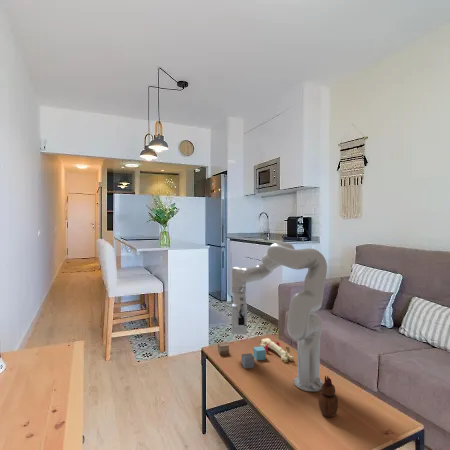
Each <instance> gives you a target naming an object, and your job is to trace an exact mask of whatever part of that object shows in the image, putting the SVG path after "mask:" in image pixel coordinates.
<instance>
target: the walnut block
mask: <svg viewBox="0 0 450 450" xmlns="http://www.w3.org/2000/svg"><path fill="white" fill-rule="evenodd" d="M218 352H219V353H218ZM217 353H218V354H219V355H220V356H226V355H225V354H227V355H229V354H230V345H229V343H228V342H227V341H222V342H217Z"/></svg>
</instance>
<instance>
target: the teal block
mask: <svg viewBox="0 0 450 450" xmlns="http://www.w3.org/2000/svg"><path fill="white" fill-rule="evenodd" d="M252 349H253V354H252V355H253V357H254V360H256V361H262V360H264V361H265V360H267V359H266V358H267V357H266V356H267V355H266V354H267V352H266V350H265V349H264V348H263V347H262V346H260V345H259V346H254V347H253V348H252Z"/></svg>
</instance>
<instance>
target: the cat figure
mask: <svg viewBox="0 0 450 450" xmlns="http://www.w3.org/2000/svg"><path fill="white" fill-rule="evenodd" d="M259 342H260V344H259V347H260V346H262V347H263V348H264V349H265V350H266V354H267V353H269V351H268V349H271V350H273V351H274V352H276V354H278V356H280V359H281V360H282V361H283V363H285V364H288V362H289V361H290V362H294V357H293V356H292V355H290V354H291V349H290V347H289V346H288V345H287V346H285V350H286V351H285V350H284V349H283V348H282V347H281V345H280V342H279V341H275V342H274V341H272V339H270V338H268V337H266V338H262V339H261V340H260V341H259Z"/></svg>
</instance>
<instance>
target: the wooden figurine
mask: <svg viewBox="0 0 450 450" xmlns="http://www.w3.org/2000/svg"><path fill="white" fill-rule="evenodd" d="M320 391H321V394H320V395H319V397H318V408H319V411H320V412H321V414H322V415H323V416H324V417H326V418H332V417H334V416H336V414H337V411H338V407H339V401H338V396H337V395H336V387H335V385H334V384H333V382H332V379H331V378H330V377H329V375H327V376H326V375H324V382H323V385H322V387H321V390H320Z"/></svg>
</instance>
